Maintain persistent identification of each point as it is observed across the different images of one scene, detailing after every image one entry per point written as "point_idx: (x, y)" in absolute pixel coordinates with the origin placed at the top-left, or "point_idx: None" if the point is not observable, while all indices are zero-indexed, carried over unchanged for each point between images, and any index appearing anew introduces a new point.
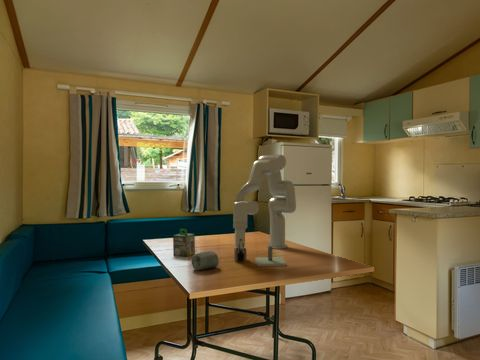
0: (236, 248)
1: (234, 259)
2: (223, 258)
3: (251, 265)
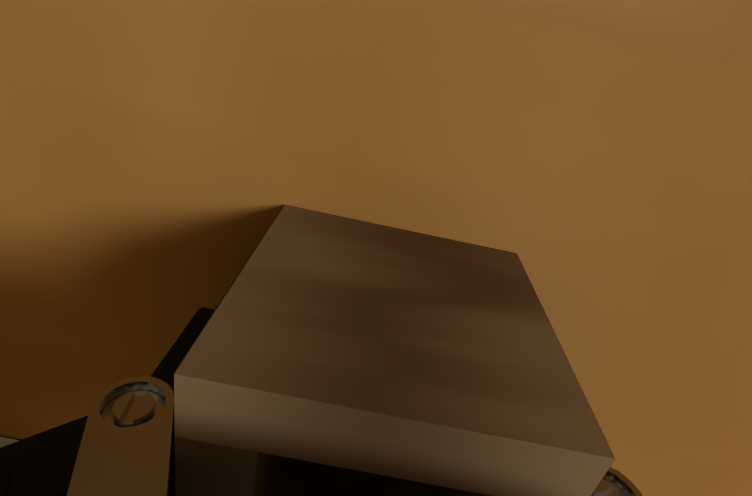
0: (484, 488)
1: (456, 243)
2: (716, 22)
3: (13, 374)
